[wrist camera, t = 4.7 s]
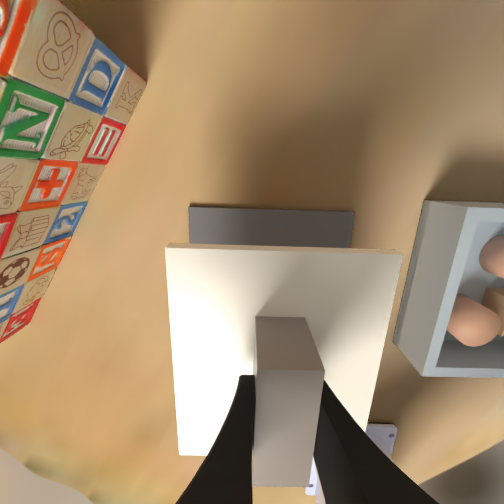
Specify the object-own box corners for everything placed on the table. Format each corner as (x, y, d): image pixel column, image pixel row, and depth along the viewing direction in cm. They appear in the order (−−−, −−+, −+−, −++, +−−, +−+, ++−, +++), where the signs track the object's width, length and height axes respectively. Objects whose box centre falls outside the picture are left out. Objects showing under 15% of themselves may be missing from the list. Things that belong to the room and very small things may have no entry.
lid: (350, 435, 17) (390, 537, 12) (184, 432, 17) (159, 535, 12) (387, 245, 13) (465, 288, 8) (173, 239, 13) (129, 279, 8)
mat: (330, 369, 23) (331, 371, 23) (195, 366, 23) (194, 368, 23) (353, 211, 19) (355, 212, 19) (189, 206, 19) (188, 207, 19)
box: (507, 344, 23) (559, 379, 19) (392, 341, 22) (421, 376, 19) (559, 204, 19) (636, 212, 15) (423, 200, 19) (467, 207, 15)
